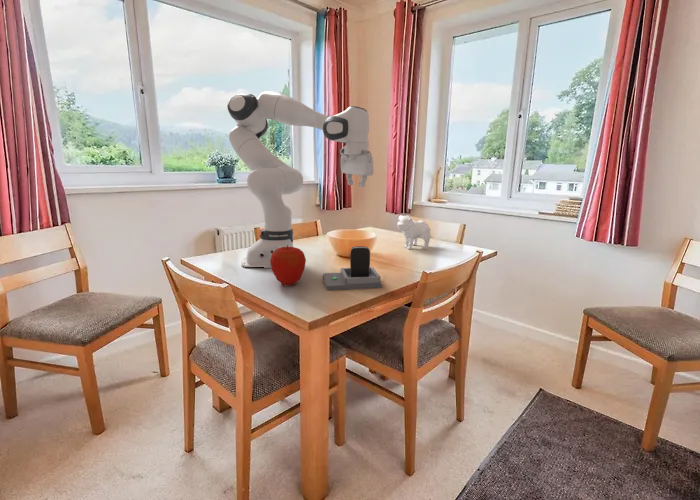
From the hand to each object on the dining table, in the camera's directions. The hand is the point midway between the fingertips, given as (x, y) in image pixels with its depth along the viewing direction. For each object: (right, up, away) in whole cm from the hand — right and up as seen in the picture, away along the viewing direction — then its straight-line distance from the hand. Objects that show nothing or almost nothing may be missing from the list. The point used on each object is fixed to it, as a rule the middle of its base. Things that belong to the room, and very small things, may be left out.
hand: (356, 186), depth 146 cm
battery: (+1, -36, -16) cm, 39 cm away
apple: (-24, -38, -19) cm, 49 cm away
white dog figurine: (+30, -25, +35) cm, 53 cm away
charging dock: (-2, -37, -17) cm, 41 cm away
